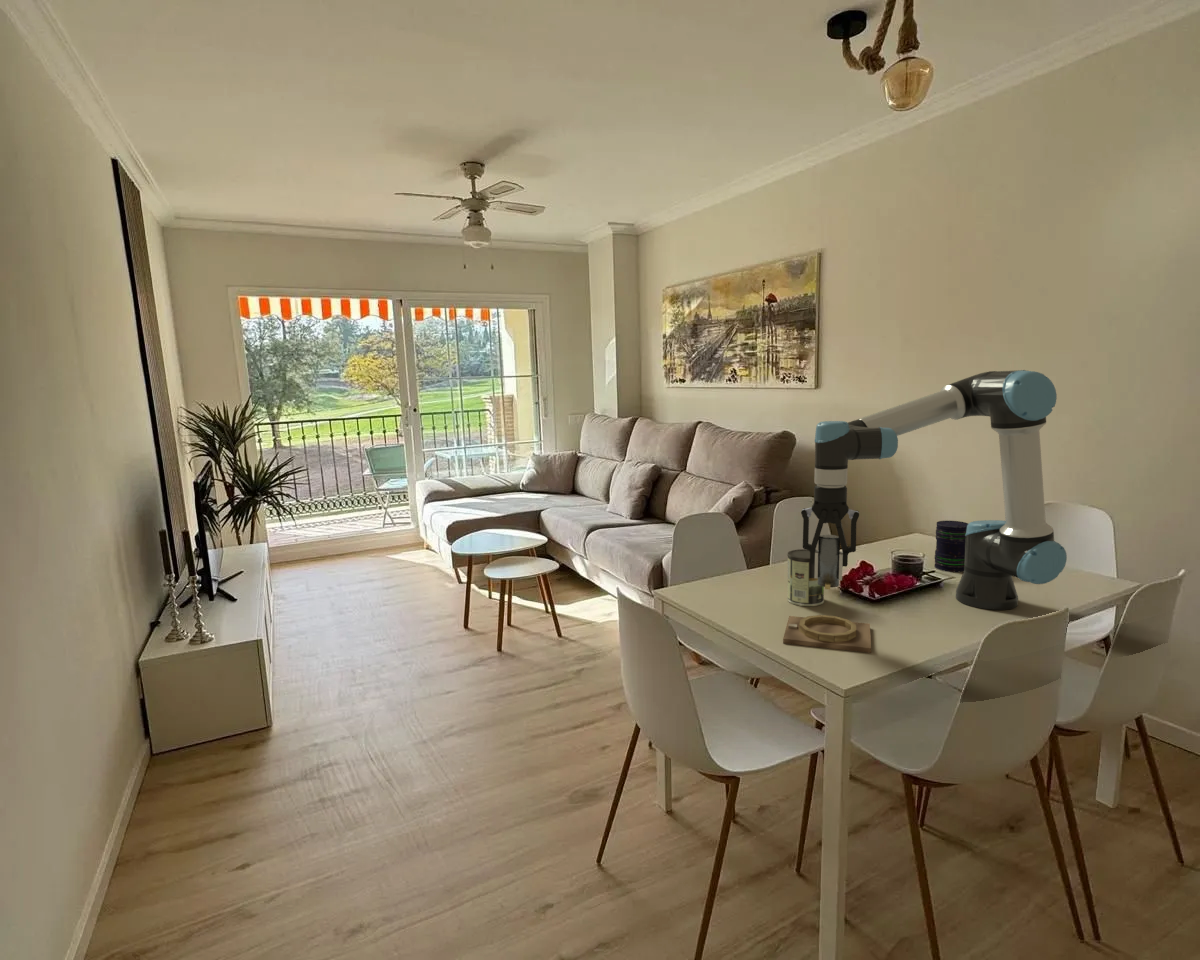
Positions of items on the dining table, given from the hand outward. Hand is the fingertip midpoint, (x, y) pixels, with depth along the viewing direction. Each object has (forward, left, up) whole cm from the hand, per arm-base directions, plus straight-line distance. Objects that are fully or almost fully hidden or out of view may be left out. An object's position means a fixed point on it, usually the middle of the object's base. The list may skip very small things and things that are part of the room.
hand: (828, 577), depth 162 cm
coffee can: (+7, -25, -15) cm, 30 cm away
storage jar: (-36, -70, -15) cm, 80 cm away
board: (0, 0, -15) cm, 15 cm away
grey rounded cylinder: (0, 0, -2) cm, 2 cm away
